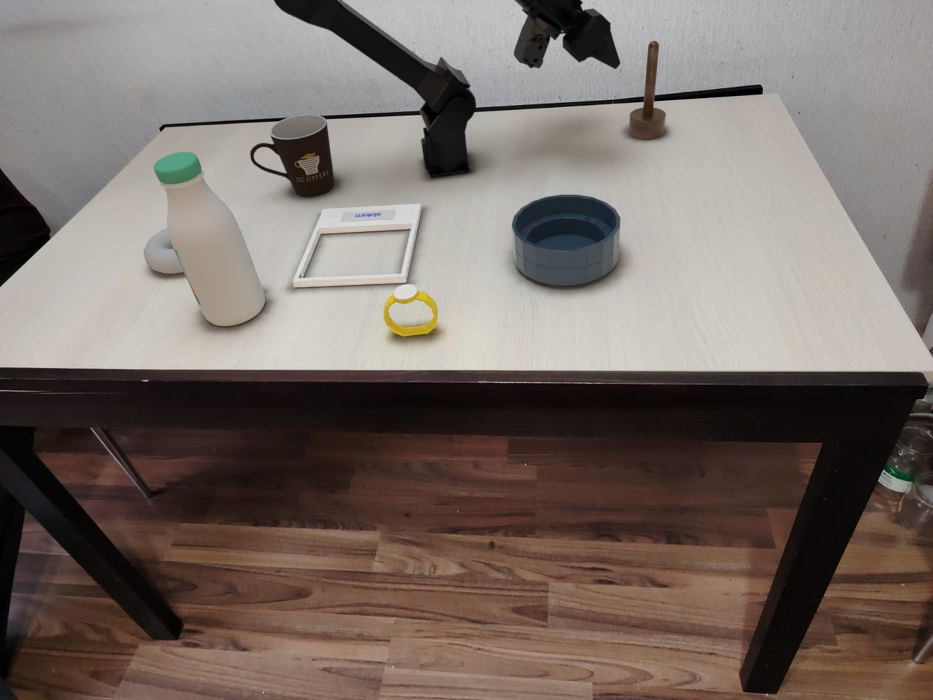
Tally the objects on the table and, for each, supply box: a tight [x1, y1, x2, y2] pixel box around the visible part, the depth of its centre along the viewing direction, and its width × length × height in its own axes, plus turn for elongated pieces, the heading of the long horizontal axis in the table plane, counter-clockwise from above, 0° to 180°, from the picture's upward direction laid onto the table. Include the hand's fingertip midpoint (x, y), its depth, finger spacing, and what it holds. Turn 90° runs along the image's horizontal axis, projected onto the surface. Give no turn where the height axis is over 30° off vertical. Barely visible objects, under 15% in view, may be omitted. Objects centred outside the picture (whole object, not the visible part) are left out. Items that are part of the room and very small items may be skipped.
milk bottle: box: [153, 151, 266, 327], centre depth 77 cm, size 8×8×20 cm
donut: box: [143, 227, 184, 275], centre depth 93 cm, size 10×4×10 cm
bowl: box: [511, 194, 621, 287], centre depth 83 cm, size 13×13×6 cm
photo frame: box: [291, 203, 423, 288], centre depth 91 cm, size 15×1×18 cm
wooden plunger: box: [628, 40, 667, 140], centre depth 105 cm, size 6×6×14 cm
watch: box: [382, 283, 439, 338], centre depth 75 cm, size 6×3×6 cm, turn 90°
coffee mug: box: [249, 114, 335, 198], centre depth 103 cm, size 12×9×10 cm
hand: (606, 56), depth 101 cm, fingers open, 9 cm apart
